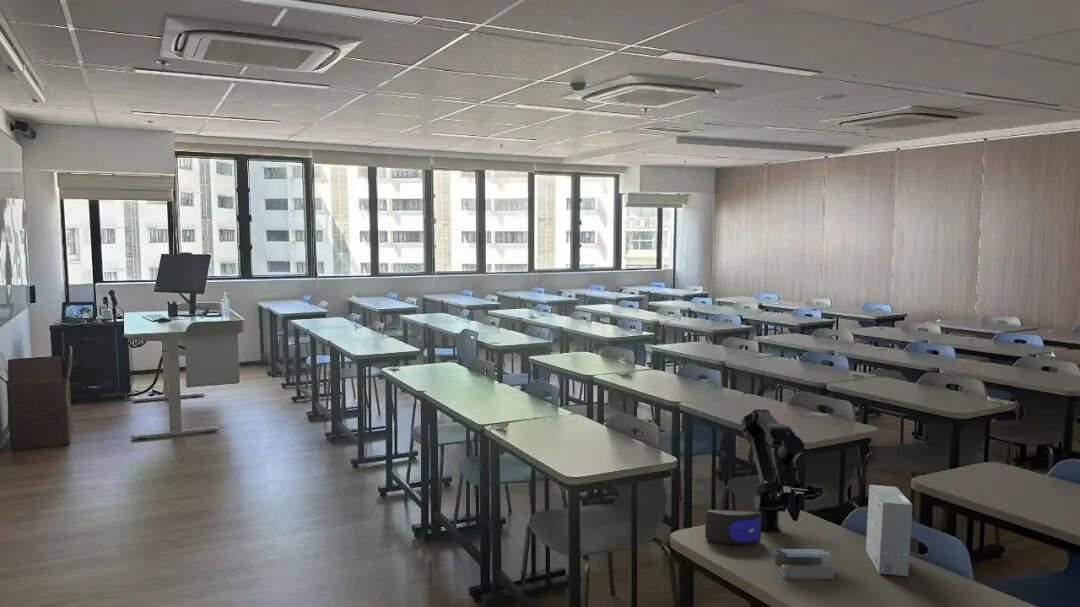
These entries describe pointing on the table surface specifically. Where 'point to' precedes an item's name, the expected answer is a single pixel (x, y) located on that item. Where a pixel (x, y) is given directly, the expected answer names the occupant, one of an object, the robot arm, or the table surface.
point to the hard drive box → (889, 530)
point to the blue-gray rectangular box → (804, 553)
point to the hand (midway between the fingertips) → (795, 520)
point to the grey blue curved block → (733, 527)
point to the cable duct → (803, 567)
